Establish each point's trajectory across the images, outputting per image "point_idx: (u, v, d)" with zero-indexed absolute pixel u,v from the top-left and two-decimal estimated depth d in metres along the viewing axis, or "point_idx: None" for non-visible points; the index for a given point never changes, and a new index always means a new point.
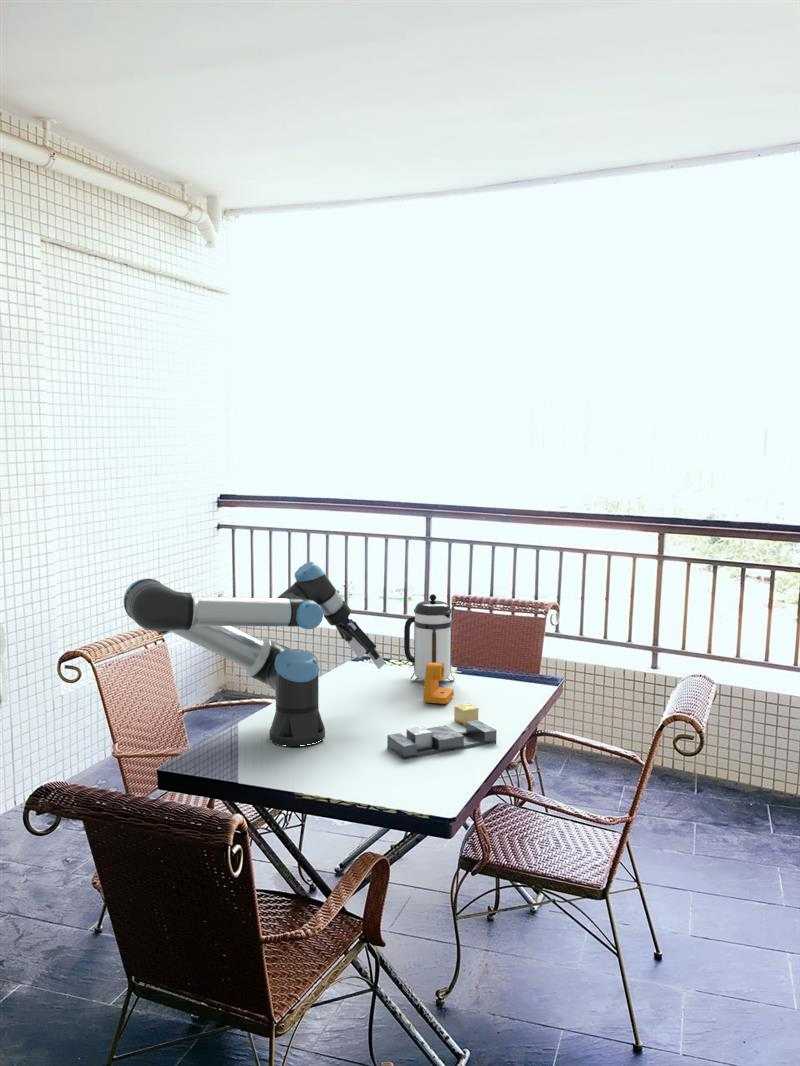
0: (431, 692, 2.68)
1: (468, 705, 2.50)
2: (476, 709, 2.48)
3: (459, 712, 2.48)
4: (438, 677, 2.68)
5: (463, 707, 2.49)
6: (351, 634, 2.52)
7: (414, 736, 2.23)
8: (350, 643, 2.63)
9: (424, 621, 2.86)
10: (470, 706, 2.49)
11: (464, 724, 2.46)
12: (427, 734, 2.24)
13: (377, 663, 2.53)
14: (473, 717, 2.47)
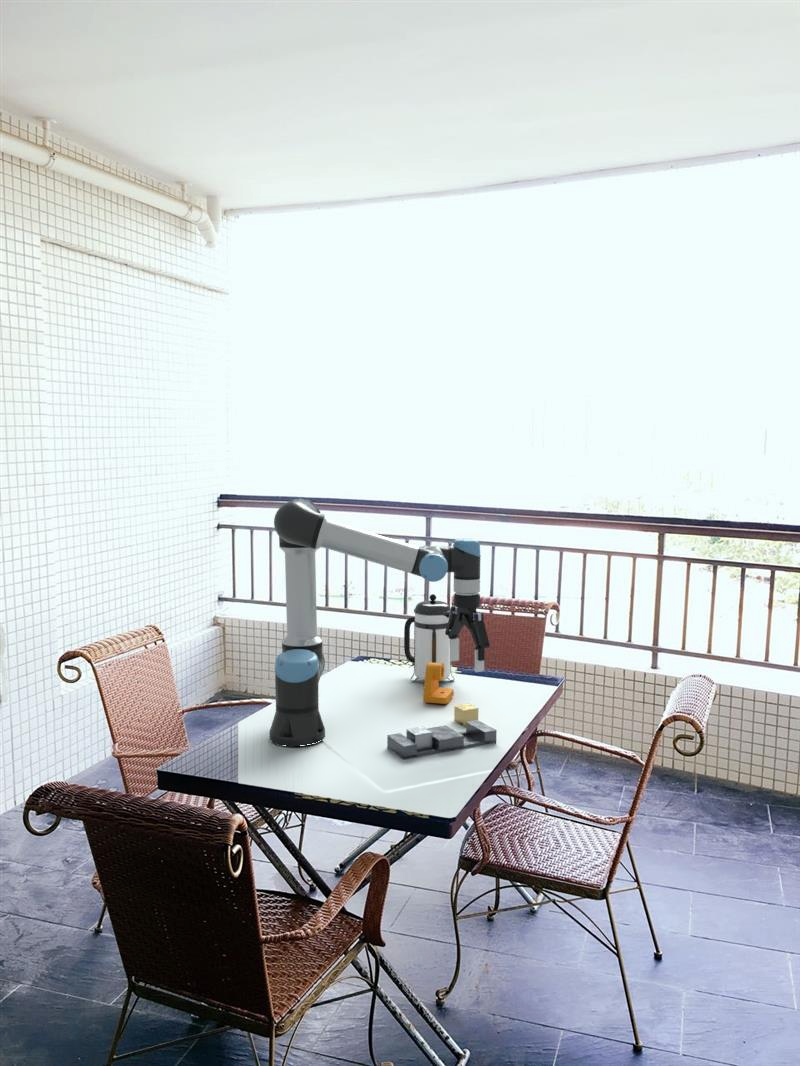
0: (431, 692, 2.68)
1: (468, 705, 2.50)
2: (476, 709, 2.48)
3: (459, 712, 2.48)
4: (438, 677, 2.68)
5: (463, 707, 2.49)
6: (470, 625, 2.43)
7: (414, 736, 2.23)
8: (452, 641, 2.52)
9: (424, 621, 2.86)
10: (470, 706, 2.49)
11: (464, 724, 2.46)
12: (427, 734, 2.24)
13: (477, 665, 2.41)
14: (473, 717, 2.47)
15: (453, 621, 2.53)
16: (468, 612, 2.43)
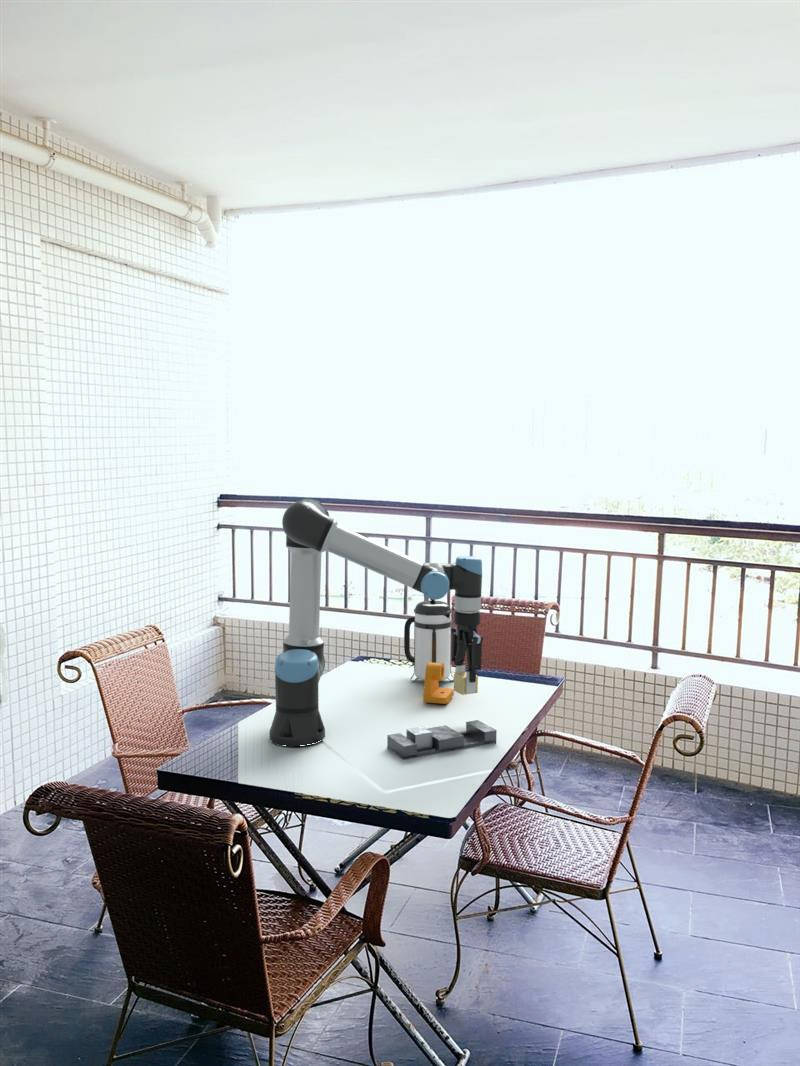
0: (431, 692, 2.68)
1: None
2: (476, 677, 2.47)
3: (458, 679, 2.47)
4: (438, 677, 2.68)
5: (463, 674, 2.48)
6: (467, 645, 2.44)
7: (414, 736, 2.23)
8: (458, 668, 2.50)
9: (424, 621, 2.86)
10: None
11: (463, 691, 2.45)
12: (427, 734, 2.24)
13: (468, 686, 2.45)
14: None
15: (456, 644, 2.51)
16: (469, 630, 2.43)
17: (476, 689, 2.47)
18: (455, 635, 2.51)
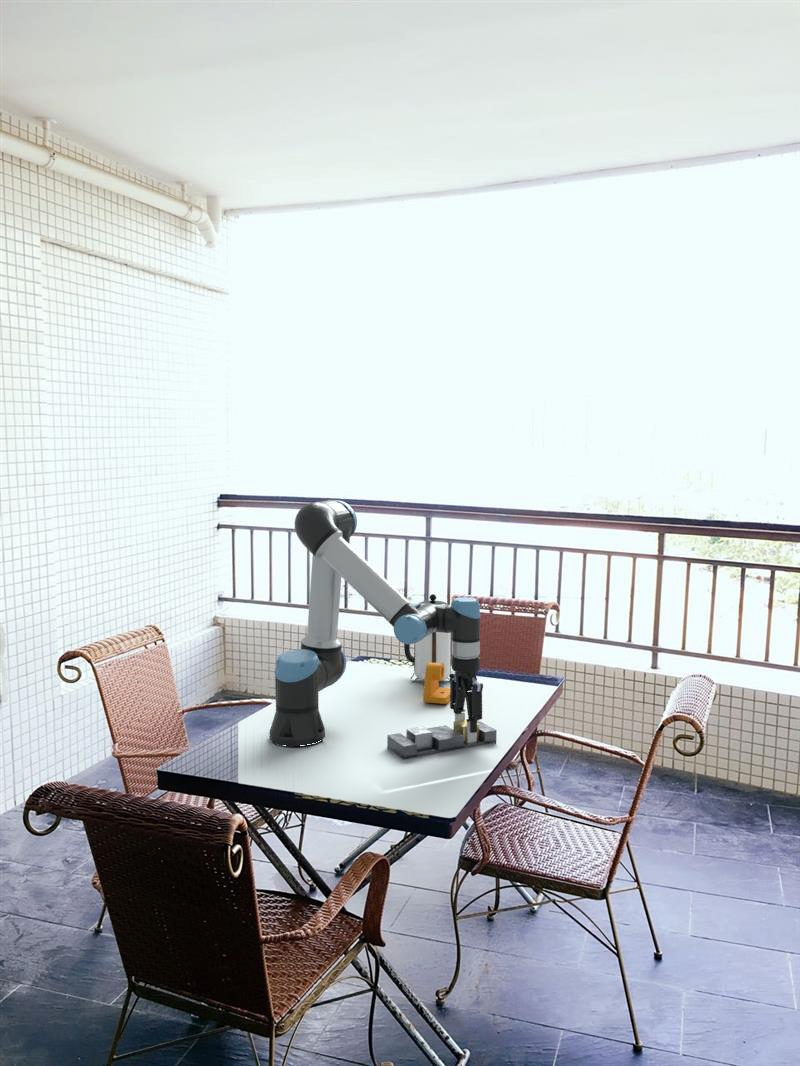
0: (431, 692, 2.68)
1: None
2: (477, 725, 2.31)
3: (458, 728, 2.31)
4: (438, 677, 2.68)
5: (463, 723, 2.32)
6: (467, 693, 2.28)
7: (414, 736, 2.23)
8: (458, 716, 2.34)
9: None
10: None
11: (464, 742, 2.30)
12: (427, 734, 2.24)
13: (469, 737, 2.29)
14: None
15: (455, 690, 2.36)
16: (468, 677, 2.28)
17: (477, 738, 2.32)
18: (453, 681, 2.35)
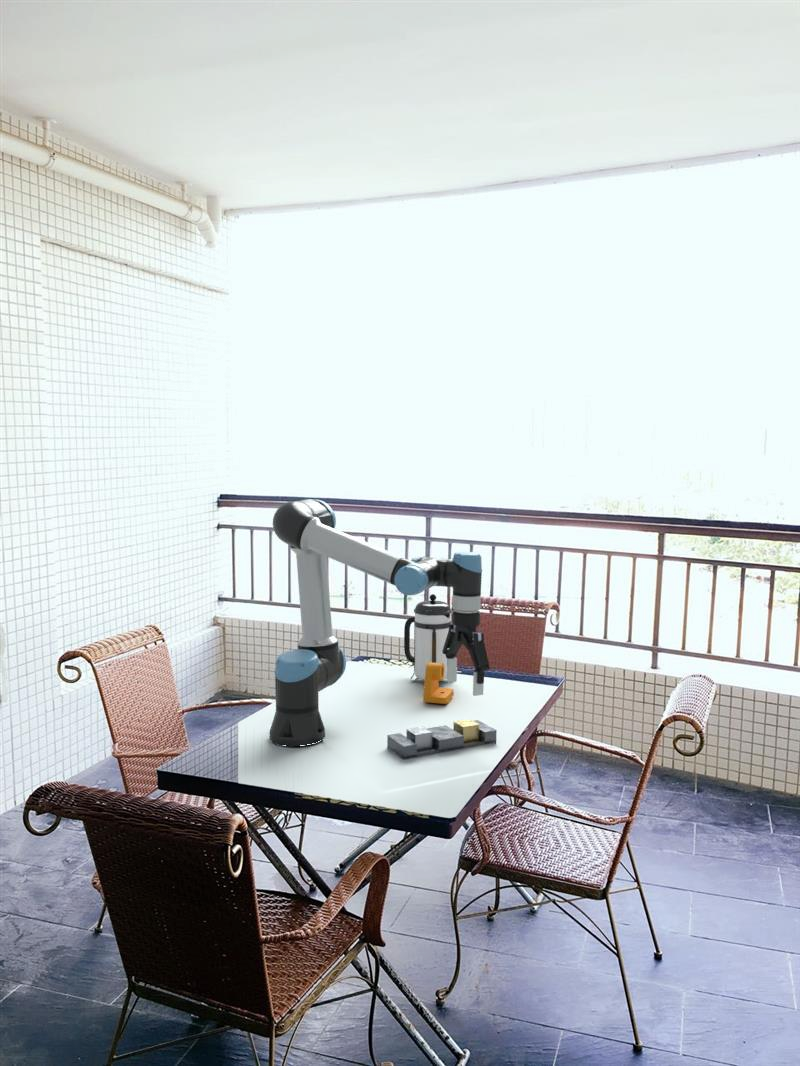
0: (431, 692, 2.68)
1: (468, 721, 2.34)
2: (477, 725, 2.31)
3: (458, 728, 2.31)
4: (438, 677, 2.68)
5: (463, 723, 2.32)
6: (469, 645, 2.26)
7: (414, 736, 2.23)
8: (449, 660, 2.36)
9: (424, 621, 2.86)
10: (470, 722, 2.33)
11: (464, 742, 2.30)
12: (427, 734, 2.24)
13: (476, 688, 2.25)
14: (474, 734, 2.31)
15: (451, 639, 2.36)
16: (467, 631, 2.27)
17: (477, 738, 2.32)
18: (452, 632, 2.35)
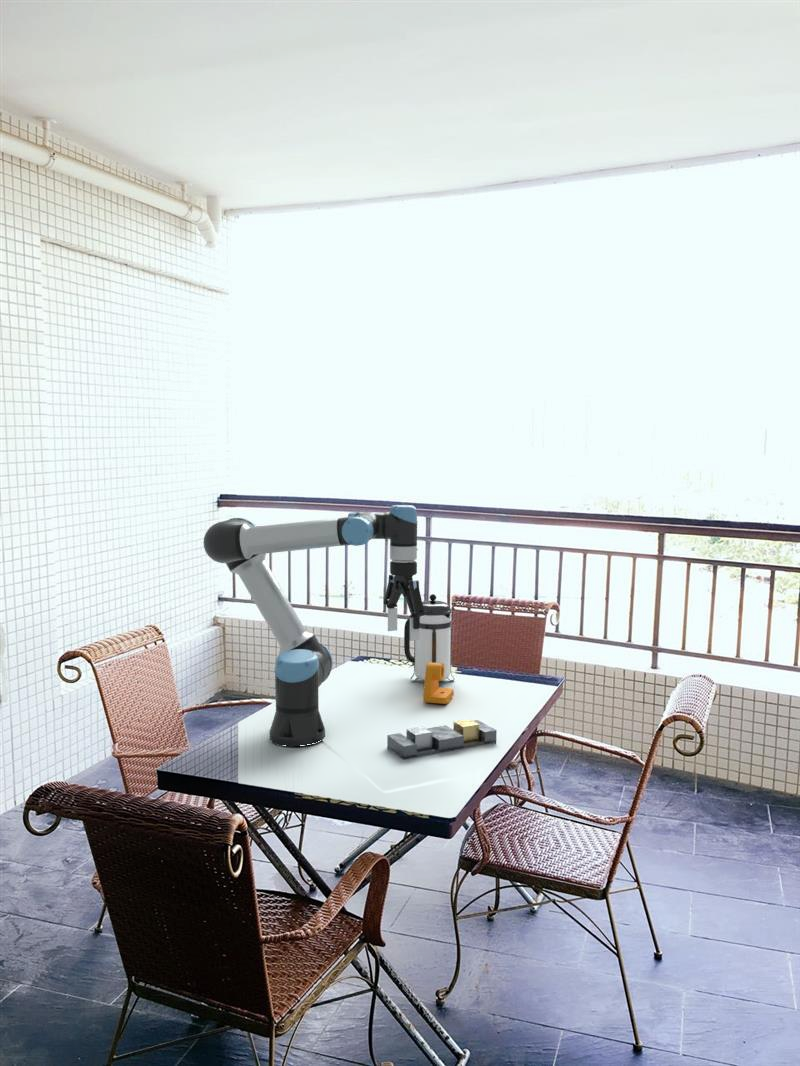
0: (431, 692, 2.68)
1: (468, 721, 2.34)
2: (477, 725, 2.31)
3: (458, 728, 2.31)
4: (438, 677, 2.68)
5: (463, 723, 2.32)
6: (405, 593, 2.38)
7: (414, 736, 2.23)
8: (390, 610, 2.48)
9: (424, 621, 2.86)
10: (470, 722, 2.33)
11: (464, 742, 2.30)
12: (427, 734, 2.24)
13: (412, 633, 2.36)
14: (474, 734, 2.31)
15: (391, 590, 2.48)
16: (404, 580, 2.38)
17: (477, 738, 2.32)
18: (391, 583, 2.46)
